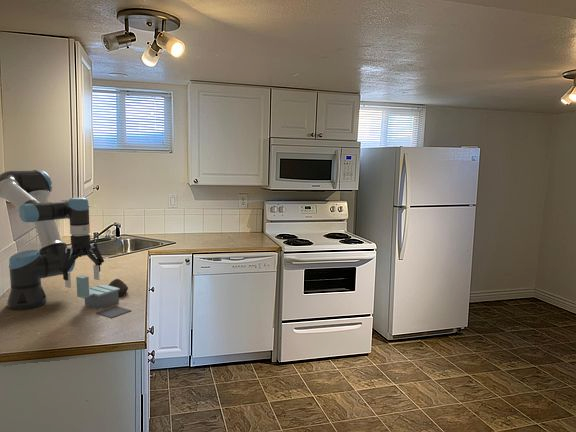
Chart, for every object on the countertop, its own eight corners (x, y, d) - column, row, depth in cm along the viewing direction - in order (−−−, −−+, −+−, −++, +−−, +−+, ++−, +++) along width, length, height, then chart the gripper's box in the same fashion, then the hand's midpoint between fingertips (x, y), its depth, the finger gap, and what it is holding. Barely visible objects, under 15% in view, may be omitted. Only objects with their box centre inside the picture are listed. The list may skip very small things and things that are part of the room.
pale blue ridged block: (72, 295, 193) (71, 275, 192) (103, 285, 207) (103, 267, 206) (88, 299, 188) (87, 279, 187) (119, 290, 202) (119, 271, 200)
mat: (95, 313, 189) (95, 312, 189) (115, 306, 197) (115, 305, 197) (111, 318, 184) (111, 317, 184) (131, 311, 192) (131, 310, 192)
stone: (130, 301, 216) (130, 283, 221) (126, 293, 209) (126, 275, 215) (109, 305, 214) (109, 287, 220) (104, 297, 207) (104, 278, 213)
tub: (84, 304, 199) (84, 292, 198) (104, 298, 207) (103, 286, 206) (99, 309, 194) (98, 296, 193) (118, 302, 202) (118, 290, 202)
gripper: (57, 240, 176) (60, 292, 178) (111, 231, 197) (113, 277, 200) (46, 238, 179) (49, 289, 182) (100, 229, 201) (102, 275, 204)
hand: (82, 283), depth 191 cm, fingers open, 13 cm apart
